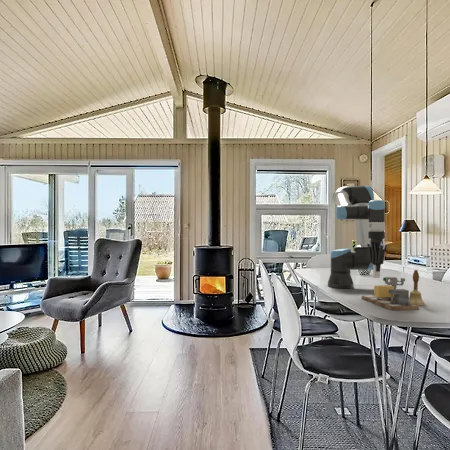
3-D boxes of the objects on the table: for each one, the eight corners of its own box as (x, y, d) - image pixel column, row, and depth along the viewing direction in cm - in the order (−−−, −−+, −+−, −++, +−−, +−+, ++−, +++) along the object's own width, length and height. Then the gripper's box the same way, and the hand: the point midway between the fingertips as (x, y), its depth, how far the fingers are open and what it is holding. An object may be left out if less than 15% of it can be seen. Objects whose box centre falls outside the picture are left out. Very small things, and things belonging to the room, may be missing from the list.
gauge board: (361, 298, 167) (361, 283, 167) (385, 298, 168) (385, 282, 168) (391, 310, 143) (391, 291, 143) (418, 309, 144) (418, 291, 145)
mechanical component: (405, 297, 170) (405, 278, 170) (384, 296, 172) (384, 277, 172) (403, 296, 173) (403, 277, 173) (382, 295, 175) (382, 276, 175)
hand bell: (419, 301, 160) (419, 269, 160) (429, 305, 152) (429, 271, 152) (402, 301, 160) (402, 269, 161) (411, 305, 152) (411, 271, 152)
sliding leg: (374, 297, 159) (374, 285, 159) (389, 296, 160) (389, 285, 160) (378, 298, 155) (378, 286, 156) (394, 298, 156) (393, 286, 157)
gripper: (362, 230, 171) (362, 275, 171) (377, 231, 158) (377, 280, 158) (375, 230, 172) (375, 275, 172) (391, 231, 159) (391, 279, 159)
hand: (376, 277), depth 165 cm, fingers closed
